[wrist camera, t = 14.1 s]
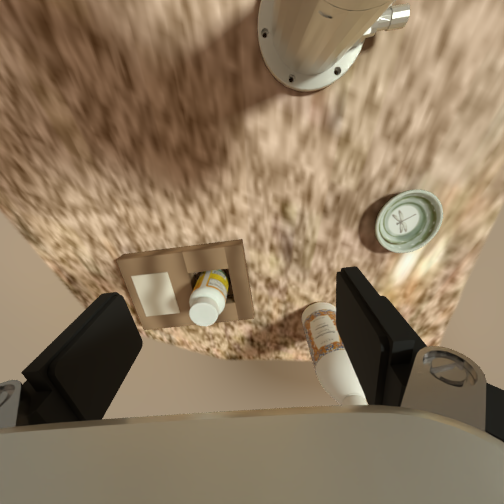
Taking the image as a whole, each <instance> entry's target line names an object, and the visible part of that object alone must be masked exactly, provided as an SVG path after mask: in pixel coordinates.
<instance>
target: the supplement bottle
mask: <svg viewBox="0 0 504 504" xmlns="http://www.w3.org/2000/svg"><path fill="white" fill-rule="evenodd" d="M228 287H229V278H228V275H227V274H226V273H225V272H224V271H223V270H222V269H220V270H211V271H203V272H202V273H201V274H200V276H199V278H198V280H197V282H196V285H195V287H194V289H193V291H192V294H191V296H190V300H189V304H190V307H191V308H190V311H189V316H190V318H191V320H192V321H193V322H194V323H195V324H197V325H200V326H209V325H212V324H213V323H215V322H216V320H217V318H218V315H219V314H220V313H221V312H222V311H223V309H224V307H225V303H226V298H227V292H228Z"/></svg>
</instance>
